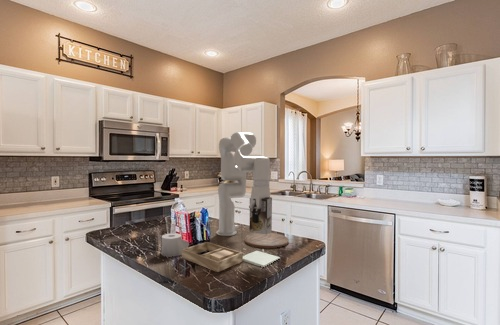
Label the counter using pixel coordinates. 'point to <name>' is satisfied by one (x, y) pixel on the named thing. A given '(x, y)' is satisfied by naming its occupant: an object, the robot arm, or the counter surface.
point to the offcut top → (221, 255)
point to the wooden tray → (205, 260)
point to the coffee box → (263, 218)
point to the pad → (260, 258)
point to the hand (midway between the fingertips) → (260, 221)
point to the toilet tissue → (173, 245)
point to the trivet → (266, 240)
